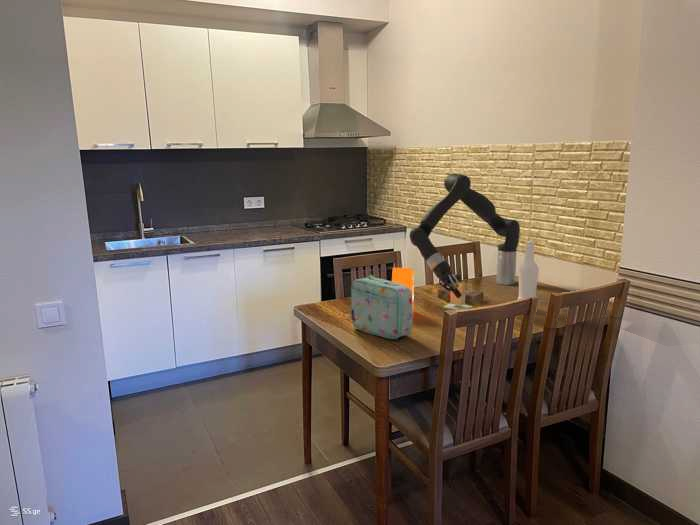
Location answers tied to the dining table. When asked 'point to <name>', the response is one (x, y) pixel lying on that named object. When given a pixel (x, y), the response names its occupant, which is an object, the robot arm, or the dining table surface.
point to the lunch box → (381, 307)
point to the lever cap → (461, 288)
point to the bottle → (528, 273)
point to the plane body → (470, 295)
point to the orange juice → (404, 278)
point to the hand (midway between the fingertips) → (461, 295)
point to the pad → (456, 306)
